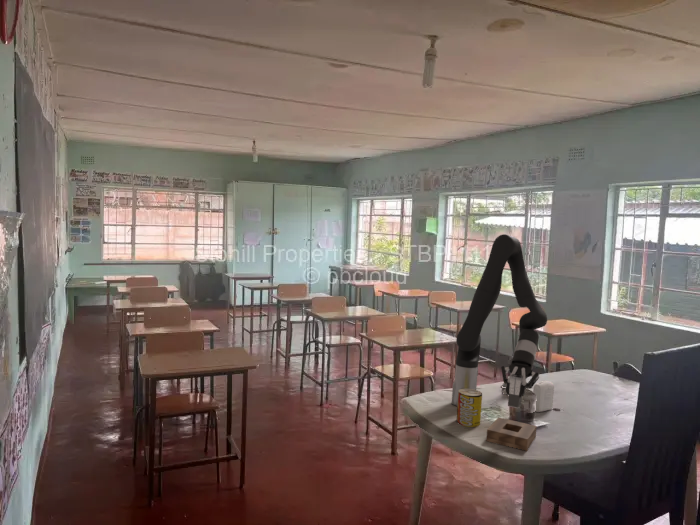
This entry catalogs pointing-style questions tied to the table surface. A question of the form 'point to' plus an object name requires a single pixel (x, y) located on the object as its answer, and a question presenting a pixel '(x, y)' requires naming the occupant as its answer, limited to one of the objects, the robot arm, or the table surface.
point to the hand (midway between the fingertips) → (514, 394)
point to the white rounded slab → (544, 395)
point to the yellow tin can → (469, 407)
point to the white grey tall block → (515, 390)
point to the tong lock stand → (511, 433)
